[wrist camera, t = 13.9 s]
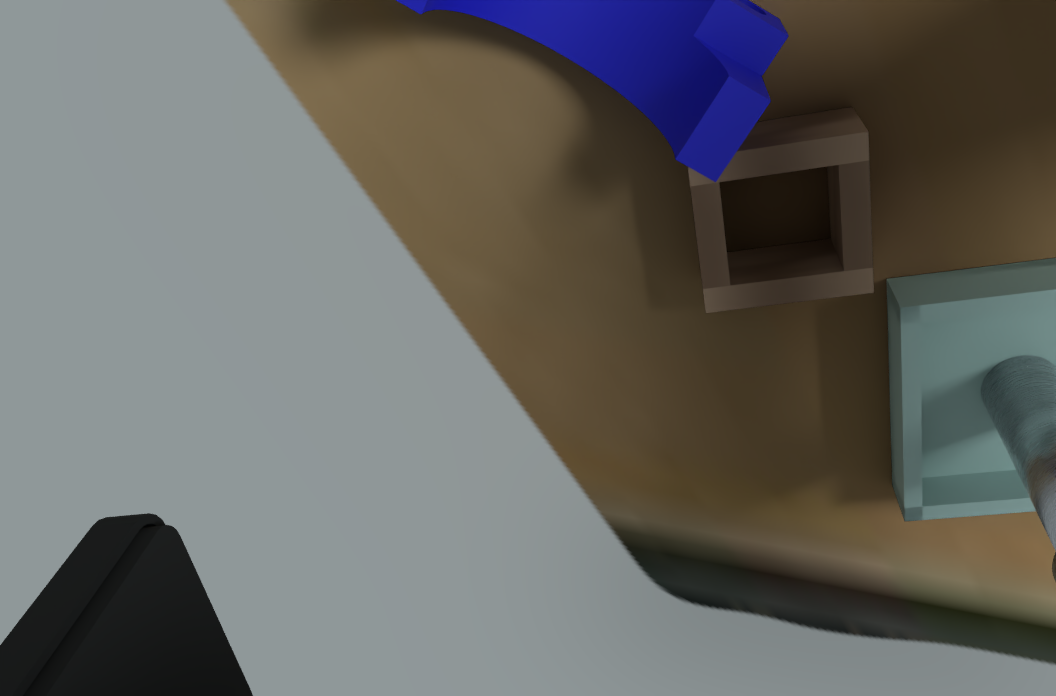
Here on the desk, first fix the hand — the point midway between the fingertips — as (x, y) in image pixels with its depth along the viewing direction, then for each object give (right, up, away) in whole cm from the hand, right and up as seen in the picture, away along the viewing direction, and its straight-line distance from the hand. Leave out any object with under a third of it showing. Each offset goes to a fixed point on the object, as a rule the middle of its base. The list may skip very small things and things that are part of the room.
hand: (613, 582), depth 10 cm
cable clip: (+2, +15, +24) cm, 29 cm away
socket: (+8, +8, +27) cm, 29 cm away
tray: (+19, +1, +29) cm, 35 cm away
